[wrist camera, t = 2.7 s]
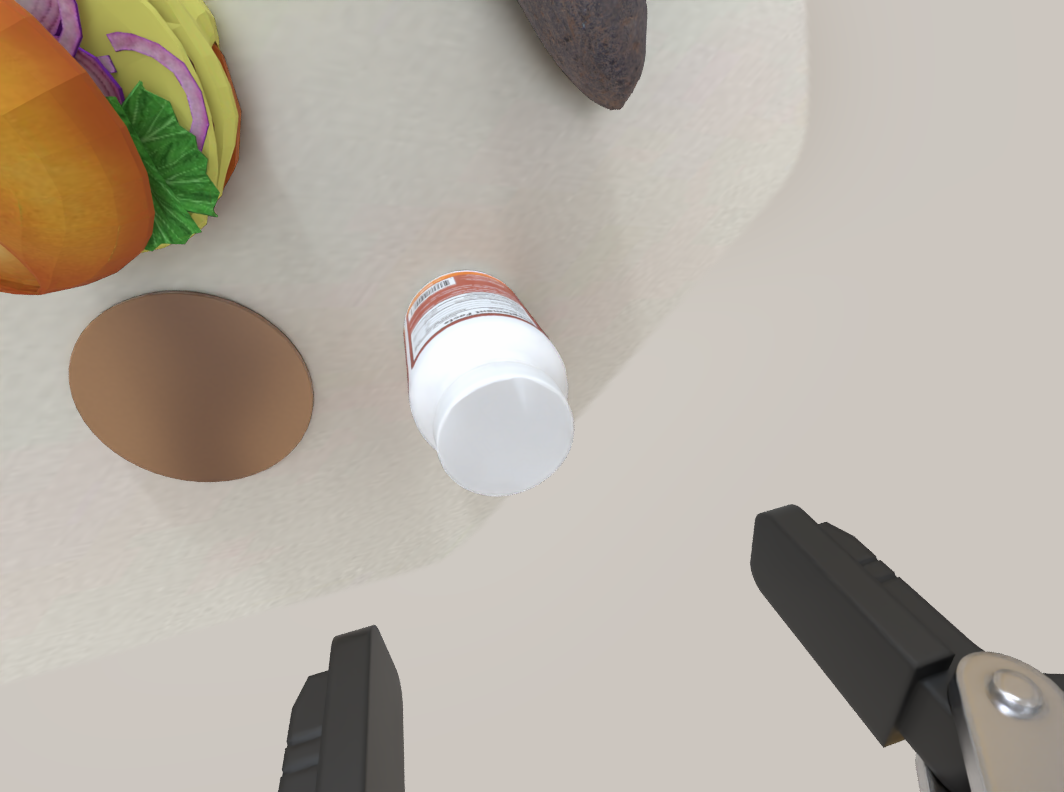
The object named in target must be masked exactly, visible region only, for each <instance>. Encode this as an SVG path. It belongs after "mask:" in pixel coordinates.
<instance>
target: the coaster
mask: <svg viewBox="0 0 1064 792" xmlns="http://www.w3.org/2000/svg"><path fill="white" fill-rule="evenodd" d="M69 385H70V389H71V394H72V398H73V400H74V403H75V405H76V408H77V410H78V412H79V413H80V415H81V417H82V419H83V420H84V422H85V423H86V424H87V426H88V427H89V428H90V430H91V431H92V432H93V433H94V434H95V435H96V436H97V437H98V438H99V439H100V440H101V441H102V442H103V443H104V444H105V445H106V446H107V447H109V448H110V449H111V450H112V451H114V452H115V453H117V454H118V455H120V456H121V457H123V458H124V459H126V460H127V461H129V462H131V463H133V464H135V465H137V466H139V467H141V468H144V469H146V470H149V471H151V472H154V473H156V474H160V475H163V476H167V477H170V478H175V479H181V480H186V481H196V482H219V481H229V480H235V479H240V478H244V477H247V476H251V475H254V474H256V473H259V472H261V471H264V470H266V469H268V468H269V467H271V466H273V465H275V464H277V463H278V462H279V461H281V460H282V459H283V458H285V457H286V456H287V455H288V454H289V453H290V452H291V451H292V450H293V449H294V448H295V447H296V446H297V444H298V443H299V442H300V440H301V439H302V437H303V435H304V434H305V432H306V430H307V427H308V424H309V422H310V419H311V414H312V409H313V388H312V381H311V378H310V375H309V372H308V369H307V367H306V365H305V363H304V361H303V358H302V357H301V355H300V354H299V352H298V351H297V349H296V348H295V346H294V345H293V344H292V343H291V342H290V340H289V339H288V338H287V337H286V336H285V335H284V334H283V333H282V332H281V331H280V330H279V329H278V328H277V327H275V326H274V325H273V324H272V323H270V322H269V321H267V320H266V319H265V318H263V317H262V316H260V315H259V314H257V313H255V312H253V311H252V310H250V309H248V308H246V307H244V306H241V305H239V304H237V303H235V302H232V301H229V300H226V299H223V298H220V297H217V296H212V295H208V294H203V293H196V292H187V291H163V292H155V293H148V294H144V295H140V296H136V297H133V298H130V299H128V300H125V301H123V302H120V303H118V304H116V305H115V306H113V307H111V308H109V309H108V310H106V311H104V312H103V313H102V314H100V315H99V316H98V317H97V318H95V319H94V320H93V321H92V322H91V323H90V324H89V325H88V326H87V327H86V329H85V330H84V331H83V332H82V333H81V335H80V337H79V338H78V340H77V342H76V344H75V346H74V349H73V352H72V354H71V358H70V365H69Z"/></svg>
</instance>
